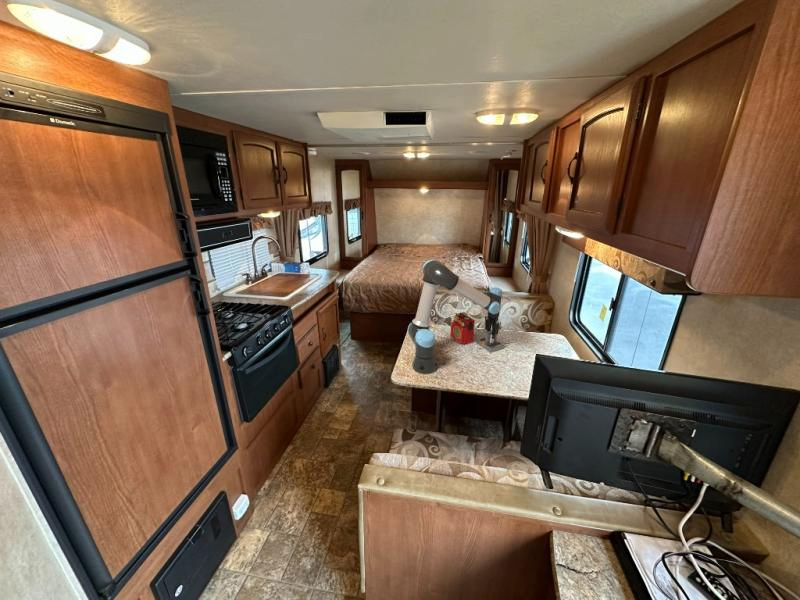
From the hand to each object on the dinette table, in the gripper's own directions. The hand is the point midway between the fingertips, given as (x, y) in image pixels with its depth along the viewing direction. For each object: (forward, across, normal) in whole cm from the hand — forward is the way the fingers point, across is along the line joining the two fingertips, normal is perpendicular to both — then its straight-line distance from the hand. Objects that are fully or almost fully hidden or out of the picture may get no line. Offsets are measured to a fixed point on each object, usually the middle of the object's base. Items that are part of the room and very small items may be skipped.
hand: (490, 341), depth 213 cm
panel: (0, 0, 0) cm, 0 cm away
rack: (+4, 0, 0) cm, 4 cm away
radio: (+4, +16, +12) cm, 20 cm away
